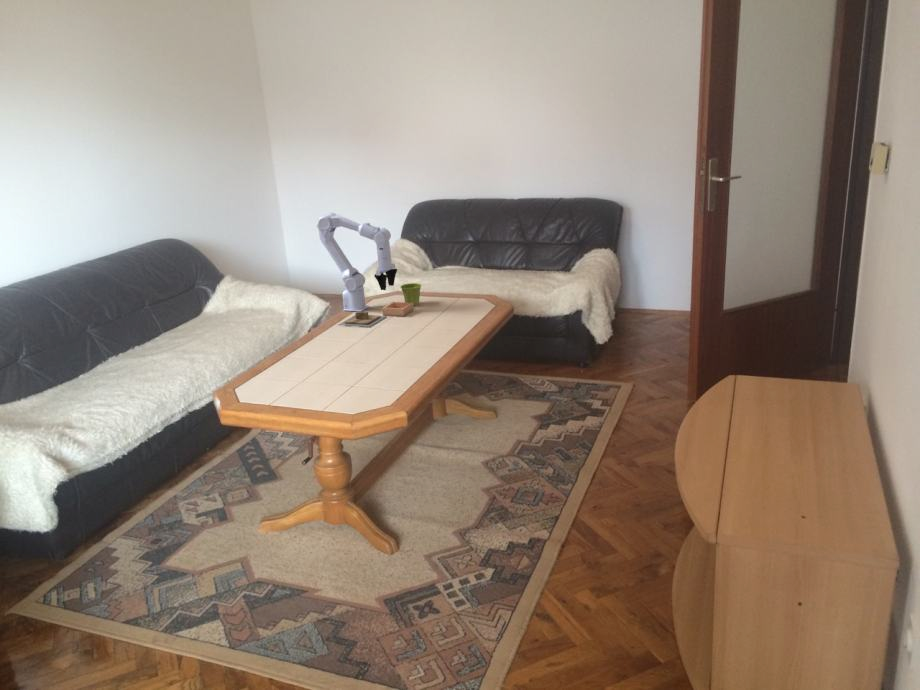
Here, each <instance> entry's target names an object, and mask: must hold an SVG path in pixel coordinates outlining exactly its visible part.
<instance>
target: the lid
mask: <svg viewBox="0 0 920 690" xmlns="http://www.w3.org/2000/svg"><path fill="white" fill-rule="evenodd" d="M354 314H355V315H356V316H355V315H353V316H354V317H353V316H351V317H352V318H351V317H350V319H349V318H348V319H349V320H348V319H346V320H347V321H346V320H344V321H345V324H359V325H369V324H370V323H372V322H373V321H375V320H377V319H378V318H380V316H381V315H375V314H369V311H355V313H354Z"/></svg>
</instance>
